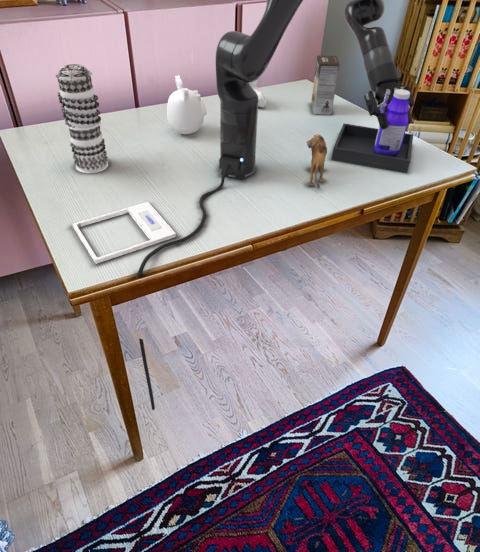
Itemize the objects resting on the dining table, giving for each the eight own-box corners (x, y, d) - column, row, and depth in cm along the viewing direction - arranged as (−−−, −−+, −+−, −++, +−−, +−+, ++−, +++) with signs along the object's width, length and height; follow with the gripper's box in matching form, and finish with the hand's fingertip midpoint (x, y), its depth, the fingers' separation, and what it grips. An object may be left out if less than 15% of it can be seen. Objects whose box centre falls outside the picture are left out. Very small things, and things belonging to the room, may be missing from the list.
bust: (243, 104, 164) (226, 81, 155) (258, 88, 163) (242, 64, 154) (260, 117, 156) (243, 93, 147) (276, 100, 155) (260, 76, 146)
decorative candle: (66, 170, 121) (42, 70, 105) (87, 155, 128) (67, 59, 111) (97, 177, 119) (77, 76, 102) (116, 161, 126) (100, 64, 109)
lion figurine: (303, 162, 128) (307, 131, 122) (322, 163, 128) (327, 132, 122) (308, 190, 117) (313, 157, 111) (329, 190, 117) (335, 158, 111)
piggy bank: (214, 134, 140) (213, 84, 130) (180, 143, 134) (176, 91, 125) (193, 120, 147) (191, 71, 137) (160, 128, 142) (156, 77, 132)
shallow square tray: (406, 173, 125) (410, 161, 123) (331, 159, 130) (333, 147, 127) (410, 145, 138) (413, 134, 135) (341, 134, 142) (343, 123, 140)
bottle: (397, 149, 134) (414, 88, 123) (400, 158, 130) (418, 96, 119) (372, 147, 135) (386, 86, 123) (374, 156, 131) (389, 94, 119)
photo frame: (175, 232, 100) (94, 259, 92) (176, 236, 101) (95, 263, 93) (147, 201, 109) (72, 223, 101) (148, 205, 110) (73, 227, 102)
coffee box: (310, 103, 160) (316, 54, 149) (328, 104, 160) (336, 55, 150) (313, 114, 153) (319, 63, 143) (332, 115, 153) (340, 64, 143)
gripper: (366, 64, 120) (384, 124, 120) (410, 58, 125) (427, 116, 125) (351, 78, 127) (367, 135, 127) (392, 72, 132) (408, 127, 132)
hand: (397, 126), depth 126 cm, fingers closed on bottle, 7 cm apart
